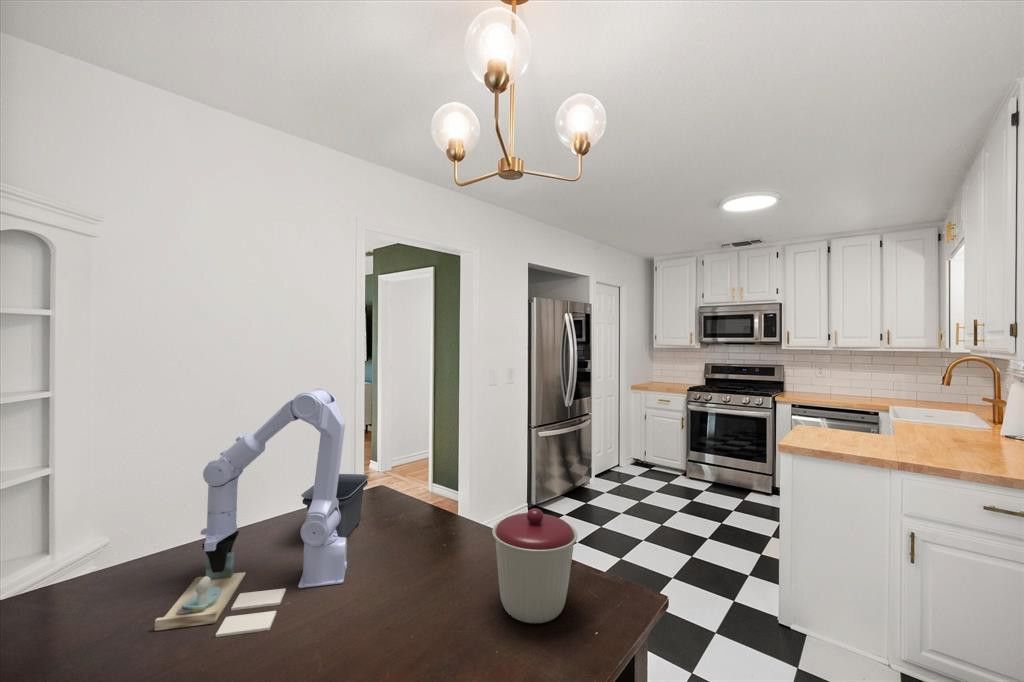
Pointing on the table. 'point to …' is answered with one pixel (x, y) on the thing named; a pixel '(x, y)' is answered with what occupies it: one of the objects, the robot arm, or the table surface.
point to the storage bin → (345, 501)
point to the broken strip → (251, 621)
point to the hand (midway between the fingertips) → (220, 568)
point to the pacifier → (201, 597)
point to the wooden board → (210, 615)
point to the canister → (534, 564)
